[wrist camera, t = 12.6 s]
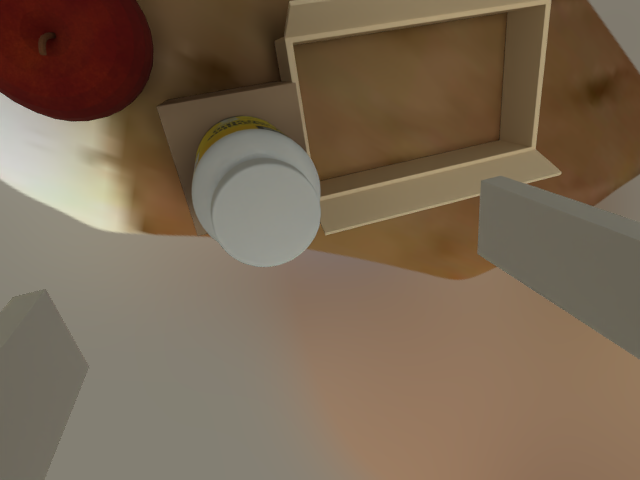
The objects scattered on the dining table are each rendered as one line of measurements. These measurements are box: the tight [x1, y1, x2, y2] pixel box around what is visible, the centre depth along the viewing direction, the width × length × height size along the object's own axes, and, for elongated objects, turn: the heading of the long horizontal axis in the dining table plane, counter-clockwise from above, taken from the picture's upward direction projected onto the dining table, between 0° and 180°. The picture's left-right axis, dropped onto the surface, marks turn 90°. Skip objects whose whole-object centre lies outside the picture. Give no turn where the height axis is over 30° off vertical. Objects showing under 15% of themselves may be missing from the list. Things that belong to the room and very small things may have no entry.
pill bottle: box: [192, 116, 321, 267], centre depth 21 cm, size 6×6×12 cm
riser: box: [157, 81, 307, 236], centre depth 30 cm, size 9×9×8 cm
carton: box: [274, 0, 562, 235], centre depth 32 cm, size 16×23×8 cm
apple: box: [0, 0, 153, 121], centre depth 23 cm, size 10×10×10 cm
